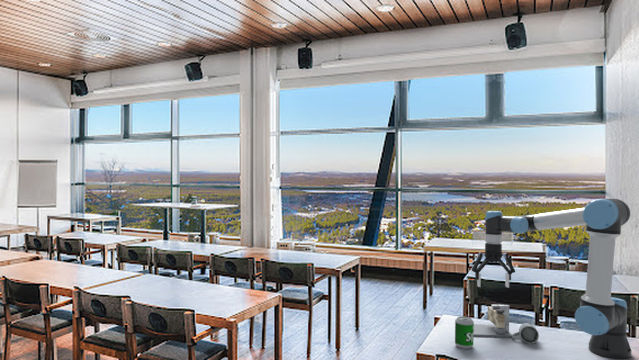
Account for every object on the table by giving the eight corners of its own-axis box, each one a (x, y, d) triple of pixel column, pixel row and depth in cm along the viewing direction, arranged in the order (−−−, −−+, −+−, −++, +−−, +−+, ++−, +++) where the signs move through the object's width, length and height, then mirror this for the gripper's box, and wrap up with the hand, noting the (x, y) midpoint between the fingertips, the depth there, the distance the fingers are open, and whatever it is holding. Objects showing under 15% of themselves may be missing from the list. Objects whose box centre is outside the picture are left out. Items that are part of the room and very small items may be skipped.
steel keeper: (508, 333, 208) (509, 306, 208) (492, 333, 208) (492, 305, 208) (507, 332, 210) (507, 304, 210) (491, 332, 210) (491, 304, 210)
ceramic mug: (536, 338, 202) (536, 321, 202) (538, 344, 194) (538, 327, 194) (510, 336, 205) (510, 319, 205) (512, 342, 197) (512, 324, 198)
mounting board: (513, 337, 203) (513, 329, 203) (472, 336, 203) (472, 328, 203) (500, 326, 218) (500, 319, 218) (462, 325, 218) (462, 318, 218)
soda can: (461, 350, 186) (461, 321, 186) (451, 344, 193) (451, 316, 193) (477, 349, 188) (477, 320, 188) (466, 342, 195) (467, 315, 195)
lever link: (505, 328, 204) (505, 311, 204) (497, 327, 204) (497, 310, 204) (494, 318, 217) (494, 302, 218) (486, 318, 218) (487, 302, 218)
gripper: (516, 242, 219) (515, 285, 219) (465, 241, 220) (464, 284, 220) (522, 244, 212) (522, 289, 211) (469, 243, 212) (469, 288, 212)
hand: (493, 286), depth 216 cm, fingers open, 13 cm apart
